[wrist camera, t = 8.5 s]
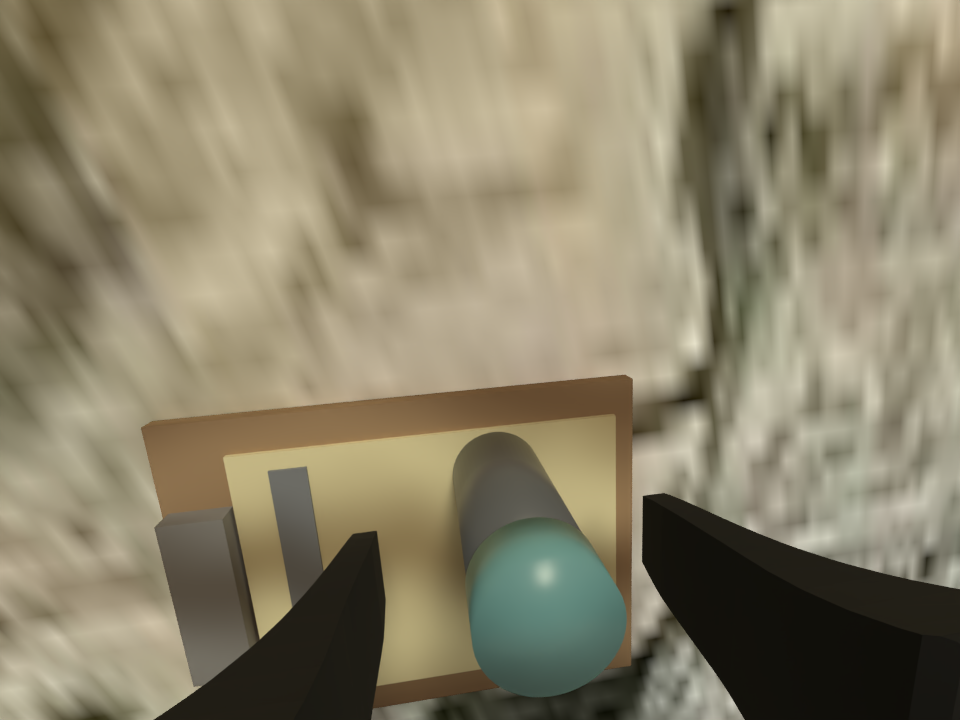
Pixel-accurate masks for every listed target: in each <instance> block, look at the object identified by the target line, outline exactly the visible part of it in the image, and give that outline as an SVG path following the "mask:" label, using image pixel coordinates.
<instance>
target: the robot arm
mask: <svg viewBox="0 0 960 720" xmlns="http://www.w3.org/2000/svg"><path fill="white" fill-rule="evenodd" d="M642 562H643V564H644V566H645V568H646V570H647V572H648V574H649V576H650V578H651V580H652V582H653V583H654V585H655V587H656V589H657V591H658V592H659V594H660V596H661V597H662V599H663V600H664V602H665V603H666V605H667V606H668V608H669V609H670V610H671V612H672V613H673V615H674V616H675V617H676V619H677V620H678V622H679V623H680V624H681V626H682V627H683V629H684V630H685V631H686V633H687V634H688V636H689V637H690V638H691V640H692V641H693V642H694V644H695V645H696V647H697V648H698V649H699V651H700V652H701V654H702V655H703V656H704V658H705V659H706V660H707V662H708V663H709V665H710V666H711V667H712V669H713V670H714V672H715V673H716V674H717V676H718V677H719V679H720V680H721V682H722V683H723V685H724V686H725V688H726V689H727V691H728V692H729V694H730V696H731V697H732V699H733V701H734V702H735V704H736V706H737V707H738V709H739V711H740V712H741V714H742V716H743V717H744V719H745V720H960V589H955V588H949V587H944V586H939V585H934V584H929V583H924V582H919V581H914V580H909V579H905V578H900V577H896V576H891V575H887V574H883V573H879V572H875V571H871V570H867V569H864V568H860V567H856V566H852V565H848V564H845V563H841V562H838V561H835V560H831V559H828V558H825V557H822V556H819V555H816V554H813V553H810V552H807V551H803V550H800V549H797V548H795V547H792V546H789V545H786V544H784V543H781V542H778V541H776V540H773V539H771V538H768V537H766V536H763V535H761V534H758V533H756V532H753V531H751V530H749V529H746V528H744V527H741V526H739V525H737V524H735V523H732V522H730V521H728V520H726V519H723V518H721V517H719V516H717V515H714V514H712V513H710V512H708V511H706V510H703V509H701V508H699V507H697V506H695V505H692V504H690V503H688V502H685V501H683V500H681V499H678V498H676V497H673V496H671V495H668V494H665V493H662V494H654V495H646V496H643V534H642ZM385 607H386V597H385V589H384V582H383V574H382V566H381V558H380V551H379V543H378V535H377V531H370V532H362V533H355V534H352V535H351V537H350V538H349V539H348V540H347V541H346V543H345V544H344V545H343V547H342V548H341V549H340V551H339V552H338V553H337V555H336V556H335V557H334V559H333V560H332V561H331V562H330V564H329V565H328V566H327V568H326V569H325V570H324V571H323V572H322V574H321V575H320V576H319V577H318V579H317V580H316V581H315V582H314V583H313V585H312V586H311V587H310V588H309V589H308V591H307V592H306V593H305V594H304V595H303V596H302V597H301V598H300V600H299V601H298V602H297V603H296V604H295V605H294V606H293V607H292V608H291V609H290V611H289V612H288V613H287V614H286V615H285V616H284V617H283V618H282V619H281V620H280V621H279V622H278V623H277V624H276V625H275V626H274V627H273V628H272V629H271V630H269V631H268V632H267V633H266V634H265V635H264V636H263V637H262V638H261V639H260V640H259V641H258V642H256V643H255V644H254V645H253V646H252V647H251V648H250V649H248V650H247V651H246V652H245V653H244V654H242V655H241V656H240V657H239V658H237V659H236V660H235V661H234V662H232V663H231V664H230V665H229V666H227V667H226V668H225V669H224V670H223V671H221V672H220V673H219V674H218V675H216V676H215V677H214V678H213V679H211V680H210V681H209V682H207V683H206V684H205V685H203V686H202V687H201V688H199V689H198V690H196V691H195V692H194V693H192V694H191V695H189V696H188V697H187V698H185V699H184V700H182V701H181V702H179V703H178V704H177V705H175V706H174V707H172V708H171V709H169V710H168V711H166V712H165V713H163V714H162V715H160V716H159V717H157V718H156V719H154V720H371V716H372V710H373V704H374V698H375V691H376V685H377V679H378V673H379V667H380V661H381V655H382V648H383V642H384V628H385Z"/></svg>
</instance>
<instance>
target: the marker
mask: <svg viewBox="0 0 960 720" xmlns="http://www.w3.org/2000/svg"><path fill="white" fill-rule="evenodd" d="M453 484H454V491H455V499H456V506H457V514H458V521H459V529H460V536H461V544H462V551H463V559H464V566H465V574H466V578H465V590H466V599H467V607H468V615H469V622H470V630H471V638H472V646H473V651H474V655H475V658H476V660H477V662H478V665H479V666H480V668H481V669H482V671H483V672H484V673H485V675H486V676H487V677H488V678H489V679H490V680H491V681H493V682H494V683H495V684H496V685H498V686H499V687H501V688H503V689H505V690H507V691H509V692H511V693H515V694H518V695H522V696H528V697H550V696H555V695H560V694H564V693H567V692H570V691H572V690H575V689H577V688H579V687H581V686H583V685H585V684H587V683H588V682H590V681H591V680H593V679H594V678H595V677H597V676H598V675H599V674H600V673H601V672H602V671H603V670H604V669H605V668H606V667H607V666H608V665H609V664H610V663H611V661H612V660H613V659H614V657H615V656H616V654H617V652H618V650H619V649H620V646H621V644H622V642H623V639H624V635H625V632H626V624H627V613H626V607H625V603H624V600H623V597H622V595H621V593H620V591H619V589H618V588H617V586H616V584H615V583H614V581H613V579H612V578H611V576H610V574H609V573H608V571H607V569H606V568H605V566H604V564H603V563H602V561H601V559H600V558H599V556H598V554H597V553H596V551H595V549H594V548H593V546H592V544H591V543H590V542H589V540H588V539H587V537H586V536H585V535H584V534H583V533H582V532H581V530H580V528H579V527H578V525H577V523H576V522H575V520H574V518H573V517H572V515H571V513H570V512H569V510H568V508H567V506H566V505H565V503H564V501H563V500H562V498H561V496H560V495H559V493H558V491H557V490H556V488H555V486H554V485H553V483H552V481H551V479H550V478H549V476H548V474H547V473H546V471H545V469H544V468H543V466H542V464H541V463H540V461H539V459H538V457H537V456H536V454H535V452H534V451H533V449H532V448H531V446H530V445H529V444H528V443H527V442H526V441H524V440H523V439H522V438H520V437H518V436H516V435H514V434H511V433H507V432H490V433H486V434H483V435H480V436H478V437H476V438H474V439H473V440H471V441H470V442H469V443H467V444H466V445H465V446H464V447H463V449H462V450H461V451H460V453H459V454H458V456H457V458H456V460H455V463H454V467H453Z"/></svg>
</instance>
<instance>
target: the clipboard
mask: <svg viewBox="0 0 960 720" xmlns="http://www.w3.org/2000/svg"><path fill="white" fill-rule="evenodd" d="M632 395H633V379H632V378H630V377H628V376H626V375H618V376H608V377H598V378H588V379H578V380H567V381H557V382H547V383H537V384H527V385H516V386H506V387H496V388H486V389H476V390H466V391H455V392H445V393H435V394H425V395H415V396H405V397H394V398H384V399H374V400H364V401H354V402H343V403H333V404H323V405H313V406H303V407H293V408H282V409H272V410H262V411H252V412H242V413H231V414H221V415H211V416H201V417H191V418H181V419H170V420H160V421H152V422H150V423H148V424H147V425H145V426H143V427H142V428H141V430H142V434H143V438H144V442H145V446H146V451H147V455H148V459H149V463H150V467H151V471H152V475H153V479H154V484H155V488H156V492H157V496H158V500H159V504H160V508H161V512H162V517H163V520H162V521H161V522H160V523H159V524H158V525H157V526H156V527H155V532H156V536H157V540H158V544H159V548H160V552H161V556H162V560H163V564H164V568H165V572H166V576H167V580H168V585H169V589H170V593H171V597H172V601H173V605H174V609H175V613H176V617H177V621H178V625H179V629H180V633H181V637H182V641H183V645H184V649H185V653H186V657H187V661H188V665H189V669H190V673H191V677H192V681H193V685H194V687H195V686H202V685H205V684H206V683H207V682H209V681H210V680H211V679H213V678H214V677H215V676H216V675H218V674H219V673H220V672H221V671H223V670H224V669H225V668H226V667H227V666H229V665H230V664H231V663H232V662H234V661H235V660H236V659H237V658H239V657H240V656H241V655H242V654H244V653H245V652H246V651H247V650H248V649H250V648H251V647H252V646H253V645H254V644H255V643H256V642H258V641H259V640H260V639H261V638H262V637H263V636H264V635H265V634H266V633H267V632H268V631H269V630H271V629H272V628H273V627H274V626H275V625H276V624H277V623H278V622H279V621H280V620H281V619H282V618H283V617H284V616H285V615H286V614H287V613H288V612H289V611H290V609H291V608H292V607H293V606H294V605H295V604H296V603H297V602H298V601H299V600H300V598H301V597H302V596H303V595H304V594H305V593H306V592H307V591H308V589H309V588H310V587H311V586H312V585H313V583H314V582H315V581H316V580H317V579H318V577H319V576H320V575H321V574H322V572H323V571H324V570H325V569H326V568H327V566H328V565H329V564H330V562H331V561H332V560H333V559H334V557H335V556H336V555H337V553H338V552H339V551H340V549H341V548H342V547H343V545H344V544H345V543H346V541H347V540H348V539H349V538H350V537H351V535H352V534H355V533H362V532H370V531H377V535H378V543H379V551H380V558H381V566H382V574H383V582H384V589H385V597H386V607H385V628H384V642H383V648H382V655H381V661H380V667H379V673H378V679H377V685H376V691H375V698H374V704H373V708H379V707H385V706H391V705H397V704H403V703H409V702H415V701H421V700H427V699H433V698H439V697H445V696H451V695H457V694H463V693H469V692H475V691H481V690H487V689H493V688H499V686H498V685H496V684H495V683H494V682H493V681H491V680H490V679H489V678H488V677H487V676H486V675H485V673H484V672H483V671H482V669H481V668H480V666H479V665H478V662H477V660H476V658H475V655H474V651H473V646H472V638H471V630H470V622H469V615H468V607H467V599H466V590H465V578H466V574H465V566H464V559H463V551H462V544H461V536H460V529H459V521H458V514H457V506H456V499H455V491H454V484H453V467H454V463H455V460H456V458H457V456H458V454H459V453H460V451H461V450H462V449H463V447H464V446H465V445H466V444H467V443H469V442H470V441H471V440H473V439H474V438H476V437H478V436H480V435H483V434H486V433H490V432H507V433H511V434H514V435H516V436H518V437H520V438H522V439H523V440H524V441H526V442H527V443H528V444H529V445H530V446H531V448H532V449H533V451H534V452H535V454H536V456H537V457H538V459H539V461H540V463H541V464H542V466H543V468H544V469H545V471H546V473H547V474H548V476H549V478H550V479H551V481H552V483H553V485H554V486H555V488H556V490H557V491H558V493H559V495H560V496H561V498H562V500H563V501H564V503H565V505H566V506H567V508H568V510H569V512H570V513H571V515H572V517H573V518H574V520H575V522H576V523H577V525H578V527H579V528H580V530H581V532H582V533H583V534H584V535H585V536H586V537H587V539H588V540H589V542H590V543H591V544H592V546H593V548H594V549H595V551H596V553H597V554H598V556H599V558H600V559H601V561H602V563H603V564H604V566H605V568H606V569H607V571H608V573H609V574H610V576H611V578H612V579H613V581H614V583H615V584H616V586H617V588H618V589H619V591H620V593H621V595H622V597H623V600H624V603H625V607H626V613H627V624H626V632H625V635H624V639H623V642H622V644H621V646H620V649H619V650H618V652H617V654H616V656H615V657H614V659H613V660H612V661H611V663H610V664H609V665H608V666H607V667H606V668H605V669H604V670H607V669H613V668H619V667H625V666H631V570H632Z"/></svg>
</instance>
